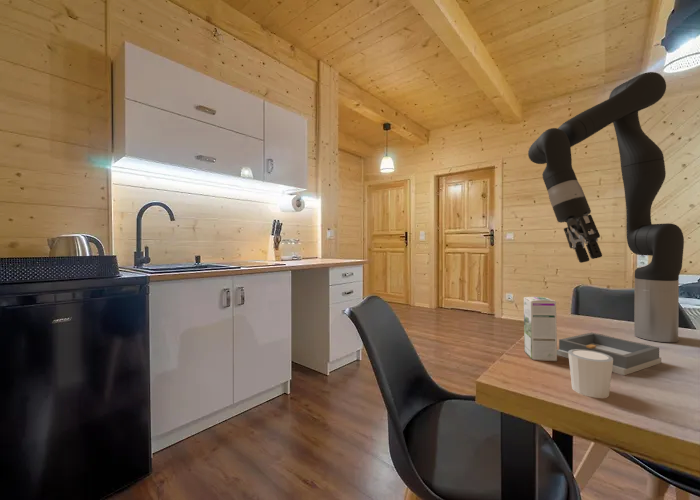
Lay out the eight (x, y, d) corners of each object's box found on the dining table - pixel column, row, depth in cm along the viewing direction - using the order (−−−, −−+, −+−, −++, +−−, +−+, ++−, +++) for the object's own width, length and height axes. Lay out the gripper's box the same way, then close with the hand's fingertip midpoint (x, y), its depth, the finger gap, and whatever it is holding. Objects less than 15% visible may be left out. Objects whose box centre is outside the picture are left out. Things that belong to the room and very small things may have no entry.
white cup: (559, 383, 63) (559, 348, 63) (594, 383, 63) (594, 348, 63) (584, 399, 57) (584, 361, 56) (623, 400, 56) (623, 361, 56)
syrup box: (558, 361, 75) (558, 300, 75) (530, 360, 76) (530, 300, 76) (548, 353, 80) (548, 296, 80) (522, 352, 82) (522, 296, 81)
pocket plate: (593, 345, 86) (593, 330, 86) (661, 362, 73) (661, 345, 73) (556, 354, 79) (556, 338, 79) (623, 375, 67) (623, 356, 67)
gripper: (594, 188, 76) (620, 252, 72) (575, 204, 89) (596, 259, 86) (559, 197, 78) (583, 260, 75) (546, 212, 91) (565, 266, 88)
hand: (590, 260), depth 80 cm, fingers open, 8 cm apart
